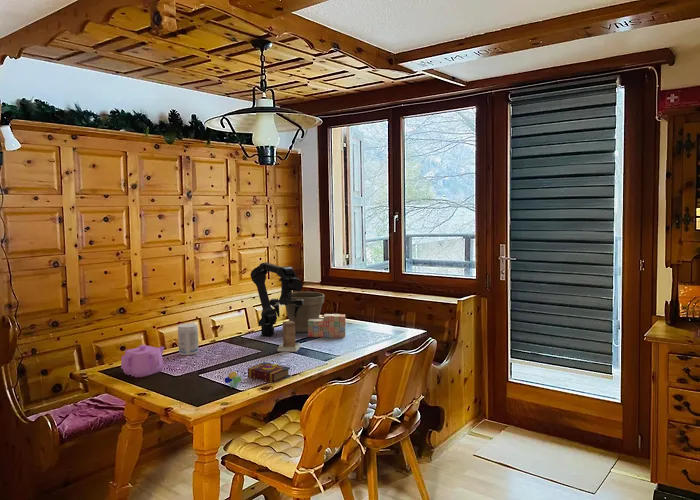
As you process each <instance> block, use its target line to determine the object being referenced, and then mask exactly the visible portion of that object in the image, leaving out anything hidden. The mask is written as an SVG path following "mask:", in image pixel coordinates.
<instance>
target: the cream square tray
mask: <svg viewBox="0 0 700 500" xmlns="http://www.w3.org/2000/svg"><path fill="white" fill-rule="evenodd" d="M300 348H301V343H300V342H295V347H283V342H282V343H280V345H278V347H277V352H288V353H289V352H290V353H291V352H293V353H297V352H298V350H299V349H300Z"/></svg>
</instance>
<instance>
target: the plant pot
mask: <svg viewBox="0 0 700 500" xmlns="http://www.w3.org/2000/svg"><path fill="white" fill-rule="evenodd" d="M297 299H303V300H304V305H302V306H301V307H299V309H298V312H297V315H296V318H295V317H294V314H295V306H296V304H288V305H284V306H285V310H286V314H287V317H288V321H293V322H295V333H308V320H309V319H320V315H321V312H322V306H323V304H324V302H325V294H324V293H322V292H317V291H316V292H315V291H292V300H293V301H296V300H297Z"/></svg>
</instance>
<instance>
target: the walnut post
mask: <svg viewBox="0 0 700 500" xmlns="http://www.w3.org/2000/svg"><path fill="white" fill-rule="evenodd" d="M282 343H283V347H295V343H296V332H295V322H293V321H289V320H287V321H282Z"/></svg>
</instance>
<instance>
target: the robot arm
mask: <svg viewBox="0 0 700 500" xmlns="http://www.w3.org/2000/svg"><path fill="white" fill-rule="evenodd" d="M269 272H271V273H273V274H274V273H275V274H276V275H277V276H278V277H280V278H279V279H278V281H279V282H281V283H280V287H281V290H280V291H281V292H280V296H279V298H271V299H270V298H269V294H268V290H267V286H266V280H267V274H268V273H269ZM250 278H251V280H252V282H253V283H254V285H255V286H256V288H257V293H258V297H259V301H260V304H261V305H260V306H261V312H260V313H261V314H260V315H261V318H260V319H259V321H258V326H260V328H261V335H260V337H265V338H266V337H273V336H274V335H275V327H274V326H275V325H277V324H276V323H277V319H278V318H280V306H285V305H288V304H296V306H295V314H294V317H295V318H296V315H297V312H298V309H299V307H301V306H302V305H304V300H303V299H297V300H296V301H293V300H292V292H302V290H303V287H304V284H303V282H302V281H301V280H300V278H298V277H297V274H296V273H295V271H294V269H293V267H292V266H281V265H276V264H273V263H270V262H261V263H260V264H259V265H257V266H256V267H255V268H253V269H252V270H251V271H250Z"/></svg>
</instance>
